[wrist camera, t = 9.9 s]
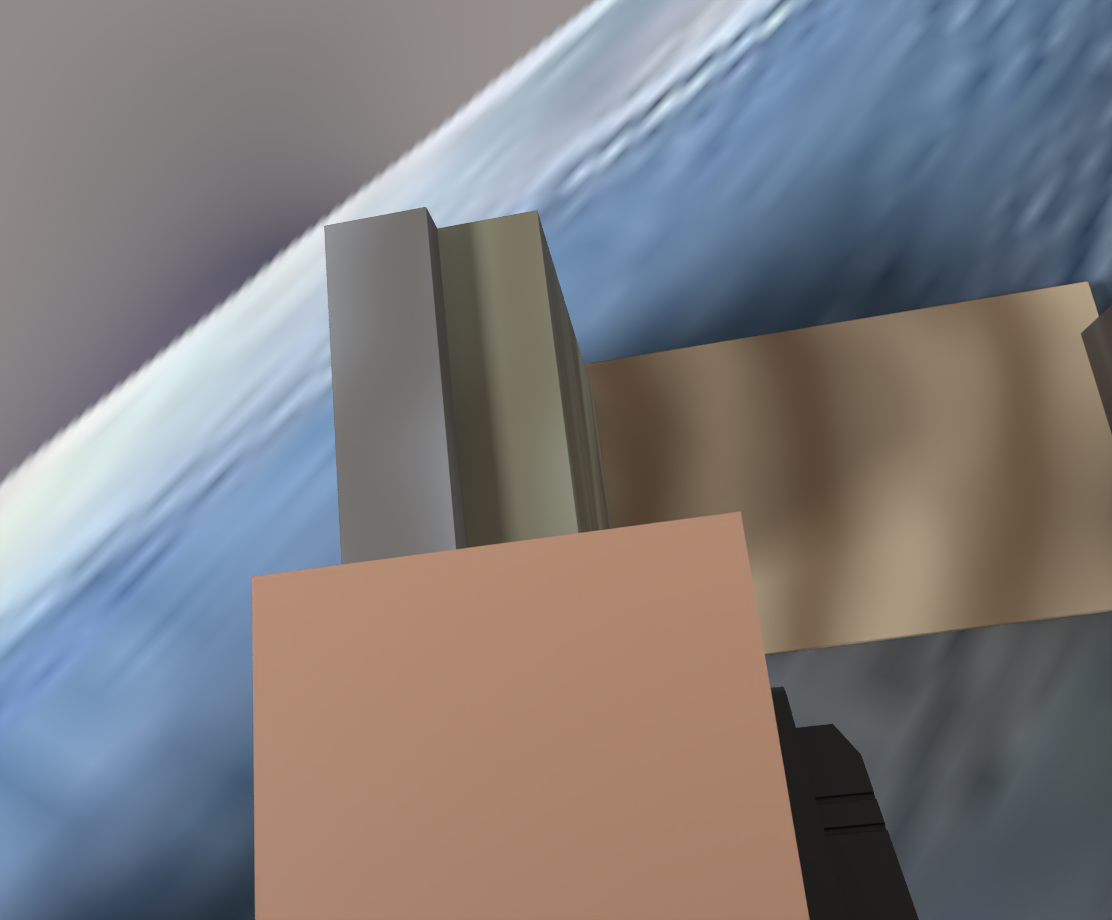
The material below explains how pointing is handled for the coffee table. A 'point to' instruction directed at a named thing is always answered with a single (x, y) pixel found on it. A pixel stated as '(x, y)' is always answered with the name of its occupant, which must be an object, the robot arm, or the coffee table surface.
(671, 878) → the salmon orange rectangular block
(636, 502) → the shelf
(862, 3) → the coffee table surface
